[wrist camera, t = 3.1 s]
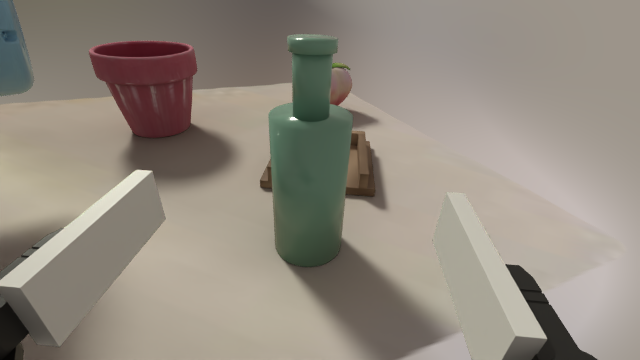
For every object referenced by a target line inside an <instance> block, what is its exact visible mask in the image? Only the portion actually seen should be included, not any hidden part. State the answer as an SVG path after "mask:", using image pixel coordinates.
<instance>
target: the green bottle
mask: <svg viewBox="0 0 640 360" xmlns="http://www.w3.org/2000/svg"><path fill="white" fill-rule="evenodd" d="M287 39H288V40H287V41H288V51H289V52H292V101H293V103H288V104H284V105H280V106H278V107H275V108H274V109H272V110H271V111H270V112H269V134H270V154H271V173H272V193H273V212H274V231H275V247H276V250H277V252H278V254H279V255H280V256H281V257H282V258H283V259H284V260H285V261H287V262H289V263H291V264H293V265H297V266H302V267H314V266H320V265H323V264H325V263H327V262H329V261H331V260H332V259H333V258H335V257H336V255H337V254H338V252H339V250H340V246H341V237H342V226H343V216H344V206H345V196H346V185H347V175H348V165H349V155H350V144H351V134H352V124H353V115H352V114H351V113H350V112H349V111H348V110H346V109H344V108H342V107H340V106H336V105H333V104H330V96H331V78H332V60H333V54H335V53H337V49H338V38H336V37H332V36H326V35H314V34H299V35H290V36H288V37H287Z"/></svg>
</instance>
